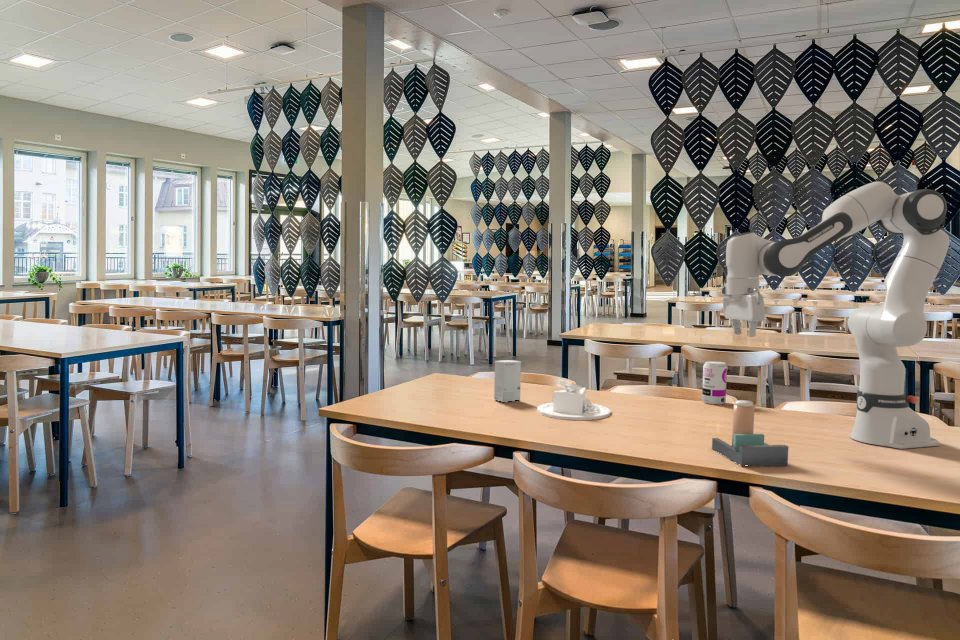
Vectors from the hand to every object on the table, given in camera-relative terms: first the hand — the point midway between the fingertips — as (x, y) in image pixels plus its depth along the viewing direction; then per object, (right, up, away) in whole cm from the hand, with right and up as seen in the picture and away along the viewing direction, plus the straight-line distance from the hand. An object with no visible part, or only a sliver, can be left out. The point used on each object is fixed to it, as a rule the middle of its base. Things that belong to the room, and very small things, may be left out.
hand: (744, 335), depth 193 cm
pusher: (-7, -31, -22) cm, 39 cm away
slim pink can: (-8, -31, -18) cm, 37 cm away
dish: (-46, -27, +32) cm, 62 cm away
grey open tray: (-8, -31, -20) cm, 38 cm away
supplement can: (+9, -26, +50) cm, 57 cm away
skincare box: (-68, -25, +50) cm, 88 cm away
